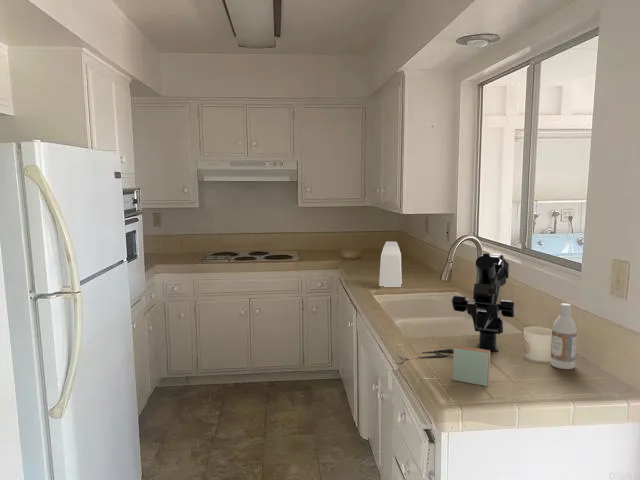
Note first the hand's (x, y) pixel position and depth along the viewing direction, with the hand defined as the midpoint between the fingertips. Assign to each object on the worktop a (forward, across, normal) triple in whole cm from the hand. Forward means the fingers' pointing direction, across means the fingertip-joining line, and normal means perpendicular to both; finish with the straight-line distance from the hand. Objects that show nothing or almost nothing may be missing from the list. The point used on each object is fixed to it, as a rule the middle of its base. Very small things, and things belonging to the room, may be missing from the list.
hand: (479, 329), depth 152 cm
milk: (-65, -64, +83) cm, 124 cm away
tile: (+18, 0, 0) cm, 18 cm away
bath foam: (-1, +24, +19) cm, 30 cm away
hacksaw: (+8, -17, +11) cm, 22 cm away
